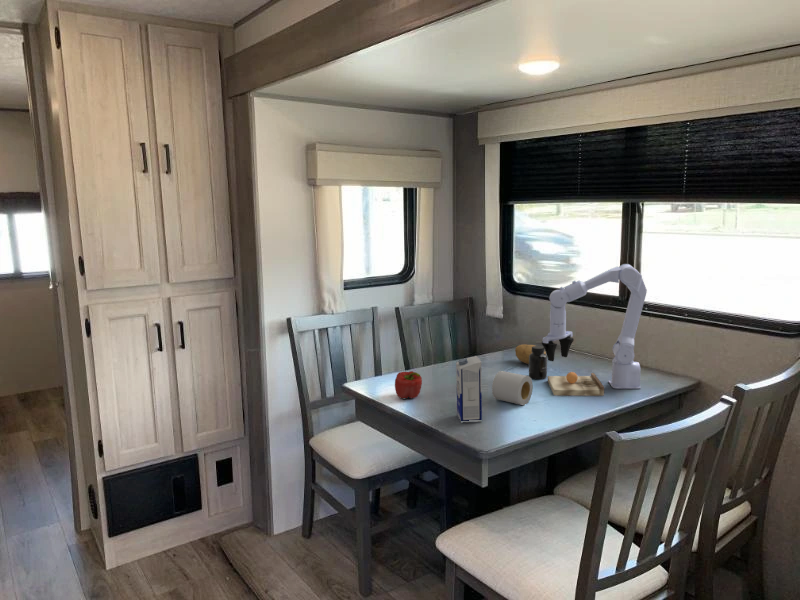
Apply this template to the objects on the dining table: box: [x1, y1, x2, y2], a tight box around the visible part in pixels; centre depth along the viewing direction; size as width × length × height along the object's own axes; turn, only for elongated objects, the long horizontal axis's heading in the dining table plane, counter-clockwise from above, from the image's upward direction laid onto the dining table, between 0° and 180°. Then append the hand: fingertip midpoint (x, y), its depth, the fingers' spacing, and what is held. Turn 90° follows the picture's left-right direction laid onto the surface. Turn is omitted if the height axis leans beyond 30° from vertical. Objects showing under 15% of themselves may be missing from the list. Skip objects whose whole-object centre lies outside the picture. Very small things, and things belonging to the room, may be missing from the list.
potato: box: [514, 343, 547, 365], centre depth 245 cm, size 10×14×8 cm
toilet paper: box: [491, 370, 534, 406], centre depth 202 cm, size 10×10×10 cm
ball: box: [565, 371, 579, 383], centre depth 214 cm, size 4×4×4 cm
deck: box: [547, 372, 605, 397], centre depth 214 cm, size 18×16×3 cm
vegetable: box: [394, 371, 423, 399], centre depth 210 cm, size 11×10×10 cm
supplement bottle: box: [528, 345, 548, 380], centre depth 227 cm, size 7×7×12 cm
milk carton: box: [455, 355, 483, 421], centre depth 187 cm, size 7×7×20 cm
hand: (557, 358), depth 219 cm, fingers open, 7 cm apart
